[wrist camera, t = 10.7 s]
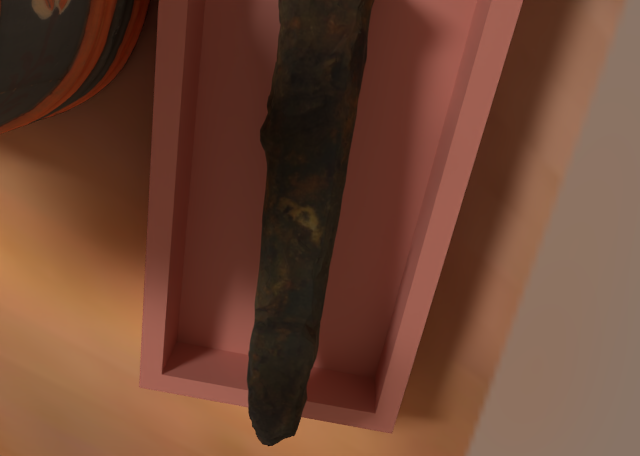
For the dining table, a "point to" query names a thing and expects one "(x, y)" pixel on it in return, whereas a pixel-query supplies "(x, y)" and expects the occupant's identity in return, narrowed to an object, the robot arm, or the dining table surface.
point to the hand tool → (302, 198)
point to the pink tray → (357, 202)
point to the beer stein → (61, 53)
